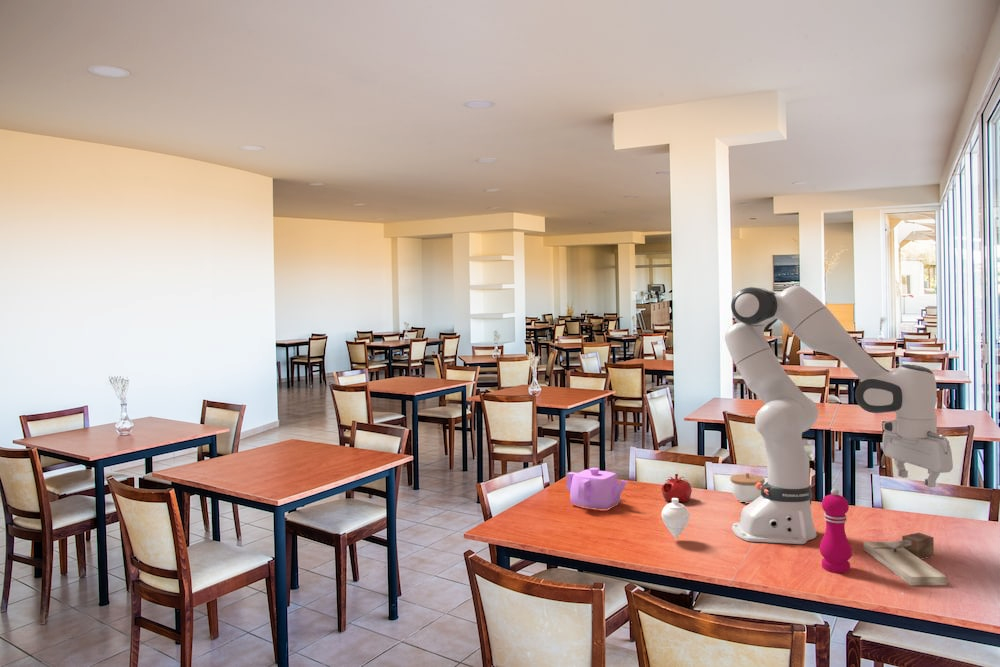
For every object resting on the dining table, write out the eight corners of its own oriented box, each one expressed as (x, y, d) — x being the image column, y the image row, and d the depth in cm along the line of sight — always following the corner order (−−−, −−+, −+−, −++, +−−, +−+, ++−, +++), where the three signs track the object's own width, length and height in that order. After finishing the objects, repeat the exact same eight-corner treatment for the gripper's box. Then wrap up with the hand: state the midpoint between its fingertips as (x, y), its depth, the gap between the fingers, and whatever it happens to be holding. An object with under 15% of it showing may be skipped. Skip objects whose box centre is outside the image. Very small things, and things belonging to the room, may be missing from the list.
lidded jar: (770, 505, 221) (769, 476, 220) (737, 506, 221) (736, 477, 221) (758, 496, 231) (757, 468, 231) (726, 497, 232) (725, 469, 231)
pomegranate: (691, 497, 233) (691, 470, 233) (692, 505, 224) (692, 477, 223) (661, 495, 236) (661, 469, 235) (661, 503, 226) (661, 476, 225)
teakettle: (564, 499, 235) (563, 464, 234) (610, 495, 238) (609, 460, 237) (579, 514, 218) (578, 476, 217) (629, 509, 221) (628, 472, 221)
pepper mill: (813, 563, 171) (812, 485, 171) (841, 562, 172) (840, 484, 171) (830, 575, 164) (829, 493, 163) (858, 573, 165) (857, 491, 164)
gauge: (899, 564, 170) (899, 544, 169) (885, 558, 173) (885, 539, 173) (933, 556, 174) (933, 537, 174) (919, 551, 178) (919, 532, 177)
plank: (911, 585, 157) (910, 576, 157) (863, 549, 180) (863, 541, 180) (946, 585, 156) (946, 576, 156) (894, 549, 179) (894, 541, 179)
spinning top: (690, 537, 193) (689, 495, 193) (689, 546, 186) (688, 503, 186) (663, 534, 196) (662, 493, 196) (660, 544, 189) (659, 501, 188)
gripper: (960, 435, 164) (959, 491, 164) (899, 421, 184) (899, 471, 185) (936, 436, 163) (936, 493, 163) (877, 422, 183) (878, 472, 184)
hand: (916, 481), depth 174 cm, fingers open, 8 cm apart
